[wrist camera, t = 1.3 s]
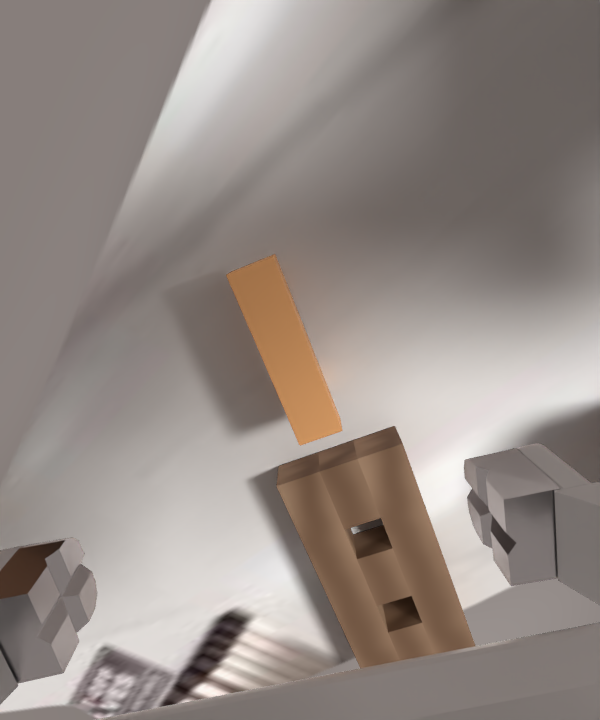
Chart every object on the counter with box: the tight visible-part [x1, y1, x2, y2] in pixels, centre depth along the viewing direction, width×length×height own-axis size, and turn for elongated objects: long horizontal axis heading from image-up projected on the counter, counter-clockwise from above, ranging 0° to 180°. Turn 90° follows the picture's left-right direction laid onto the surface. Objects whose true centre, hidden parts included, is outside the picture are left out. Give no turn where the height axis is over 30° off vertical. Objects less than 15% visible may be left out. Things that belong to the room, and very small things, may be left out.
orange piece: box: [226, 254, 342, 445], centre depth 31 cm, size 3×12×6 cm, turn 21°
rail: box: [277, 426, 475, 668], centre depth 38 cm, size 10×22×3 cm, turn 21°
